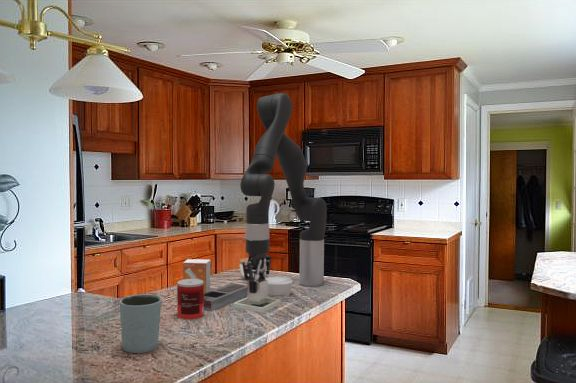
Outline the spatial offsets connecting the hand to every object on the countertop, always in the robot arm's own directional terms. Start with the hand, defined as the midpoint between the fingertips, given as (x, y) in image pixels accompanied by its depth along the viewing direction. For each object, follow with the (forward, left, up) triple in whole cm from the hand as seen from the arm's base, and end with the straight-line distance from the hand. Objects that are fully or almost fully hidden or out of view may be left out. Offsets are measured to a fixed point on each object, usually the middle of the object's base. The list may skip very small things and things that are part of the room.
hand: (257, 290), depth 155 cm
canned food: (+18, -12, -6) cm, 22 cm away
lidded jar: (-34, -23, -6) cm, 41 cm away
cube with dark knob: (0, 0, -4) cm, 4 cm away
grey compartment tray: (+1, -13, -6) cm, 14 cm away
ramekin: (-18, -3, -6) cm, 19 cm away
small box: (0, -24, -6) cm, 25 cm away
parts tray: (0, 0, -6) cm, 6 cm away
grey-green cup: (+42, -8, -6) cm, 43 cm away
